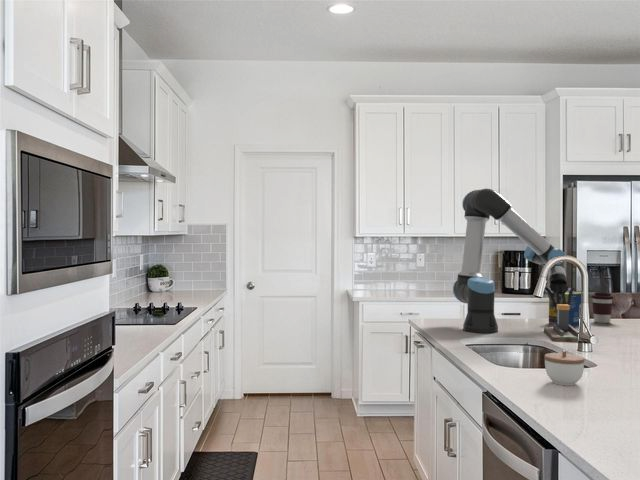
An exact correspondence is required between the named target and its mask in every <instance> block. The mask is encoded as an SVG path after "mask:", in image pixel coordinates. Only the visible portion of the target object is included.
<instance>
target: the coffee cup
mask: <svg viewBox="0 0 640 480" xmlns="http://www.w3.org/2000/svg"><path fill="white" fill-rule="evenodd" d="M590 297H591V299H592V314H593V322H594V323H597V324H609V322H610V323H611V316H612V311H613V309H612V308H613V300H614V296H613V295H611V292H610V291H609V292H608V291H594V293H593V294H591V296H590Z"/></svg>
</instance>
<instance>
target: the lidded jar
mask: <svg viewBox="0 0 640 480" xmlns="http://www.w3.org/2000/svg"><path fill="white" fill-rule="evenodd" d="M544 366H545V367H544V368H545V373H546V375H547V376H548V378H549V379H550V380H551V381H552V383H553V384H556V385H559V386H565V387H566V386H568V387H571V386H575V385H576V384H577V383H578V382H579V381H580V380H581V378H582V377H583V374H584V369H585V357H584V356H582V355H579V354H573V353H567V350H562V351H561V352H550V353H549V352H547V353H545V354H544Z"/></svg>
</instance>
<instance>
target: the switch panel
mask: <svg viewBox="0 0 640 480" xmlns="http://www.w3.org/2000/svg"><path fill="white" fill-rule="evenodd" d="M578 330H579V329H578V328H574V326H571V325H569V331H563V330H561V329H560V328H559V327H558V326H557V325H556V324H552V326H551V327H550V326H549V327H544V328H543V331H544V332H545V334H546V335H547V336H548V337H549V338H550V340H551V341H553V342H569V343H572V342H573V343H578V342H577V341H578V334H579V332H578Z"/></svg>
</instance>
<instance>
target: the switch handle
mask: <svg viewBox="0 0 640 480" xmlns="http://www.w3.org/2000/svg"><path fill="white" fill-rule="evenodd" d="M557 309H558V317H557V326H558V327H559V328H560V329H561V330H563V331H569V310H570V305H568V304H557Z"/></svg>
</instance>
